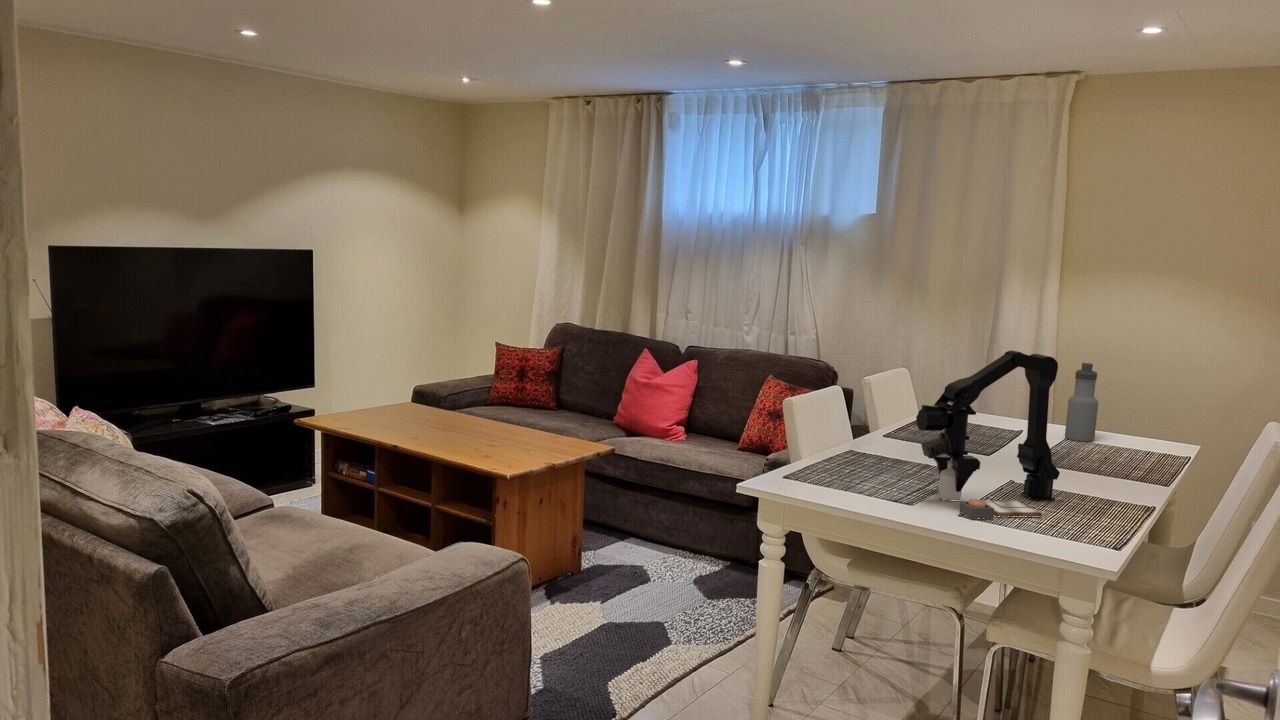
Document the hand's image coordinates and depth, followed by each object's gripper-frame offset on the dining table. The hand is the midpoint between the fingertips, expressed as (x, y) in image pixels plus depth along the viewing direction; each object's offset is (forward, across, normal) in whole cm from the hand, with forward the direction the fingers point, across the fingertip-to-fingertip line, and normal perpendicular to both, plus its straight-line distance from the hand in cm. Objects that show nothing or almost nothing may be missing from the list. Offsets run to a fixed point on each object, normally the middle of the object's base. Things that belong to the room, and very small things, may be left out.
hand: (950, 487), depth 247 cm
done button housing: (+4, +14, 0) cm, 15 cm away
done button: (+2, +14, 0) cm, 15 cm away
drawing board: (+4, +10, +11) cm, 16 cm away
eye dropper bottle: (+4, 0, 0) cm, 4 cm away
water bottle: (+4, -76, +88) cm, 116 cm away
